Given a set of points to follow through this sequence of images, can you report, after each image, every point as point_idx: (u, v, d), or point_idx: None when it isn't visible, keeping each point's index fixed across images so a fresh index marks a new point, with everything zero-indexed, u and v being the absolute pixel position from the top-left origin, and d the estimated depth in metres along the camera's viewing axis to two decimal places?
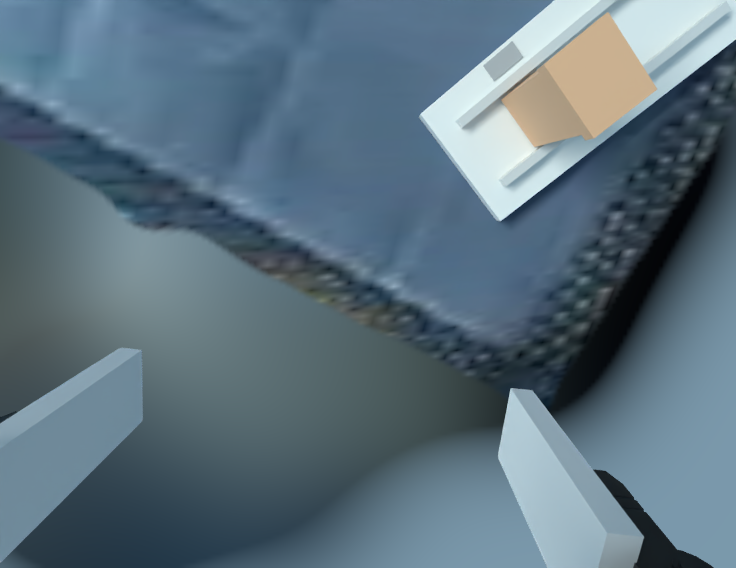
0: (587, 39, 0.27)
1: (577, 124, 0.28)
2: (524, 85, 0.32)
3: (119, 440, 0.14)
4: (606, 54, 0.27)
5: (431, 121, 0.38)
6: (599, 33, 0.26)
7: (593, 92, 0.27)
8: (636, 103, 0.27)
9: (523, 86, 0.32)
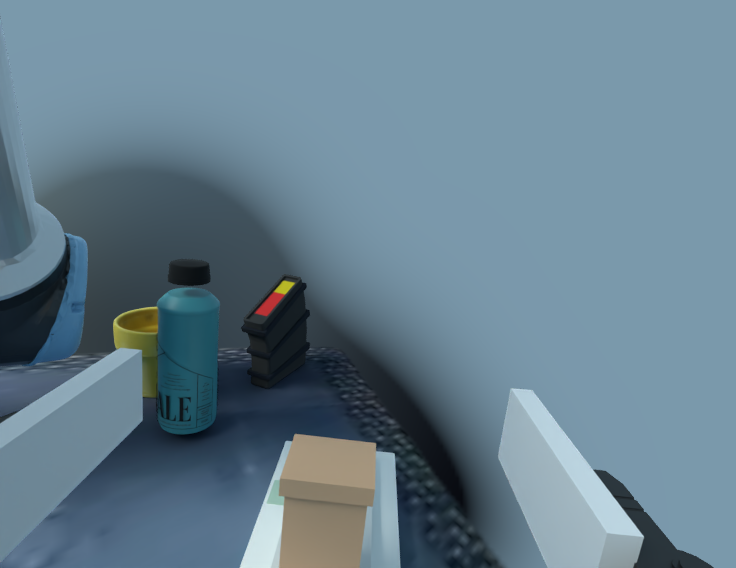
0: (297, 450, 0.28)
1: (352, 498, 0.26)
2: (282, 546, 0.27)
3: (119, 440, 0.14)
4: (320, 448, 0.29)
5: None
6: (302, 443, 0.29)
7: (337, 468, 0.27)
8: (374, 455, 0.29)
9: (282, 549, 0.27)
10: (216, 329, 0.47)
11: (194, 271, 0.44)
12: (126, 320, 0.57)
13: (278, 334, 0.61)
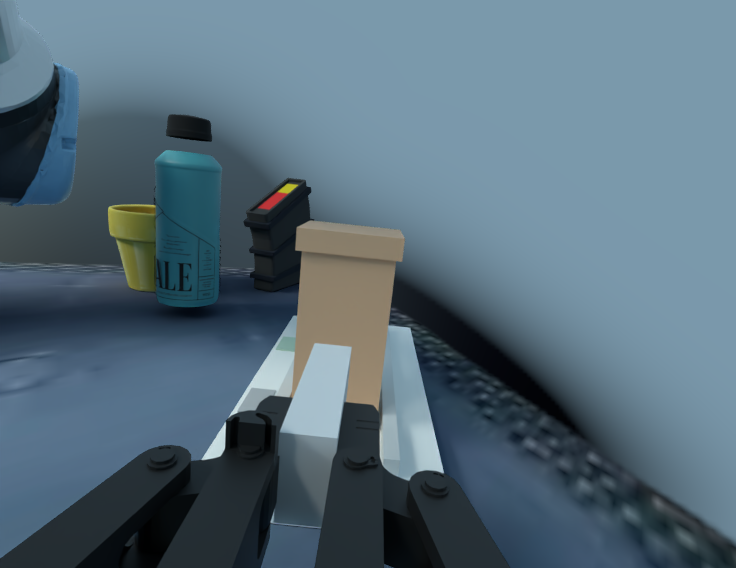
0: (314, 223, 0.25)
1: (378, 251, 0.23)
2: (298, 320, 0.24)
3: None
4: (339, 225, 0.26)
5: None
6: (318, 223, 0.26)
7: (360, 231, 0.24)
8: (399, 231, 0.26)
9: (298, 324, 0.24)
10: (218, 195, 0.44)
11: (195, 122, 0.41)
12: None
13: (282, 233, 0.58)
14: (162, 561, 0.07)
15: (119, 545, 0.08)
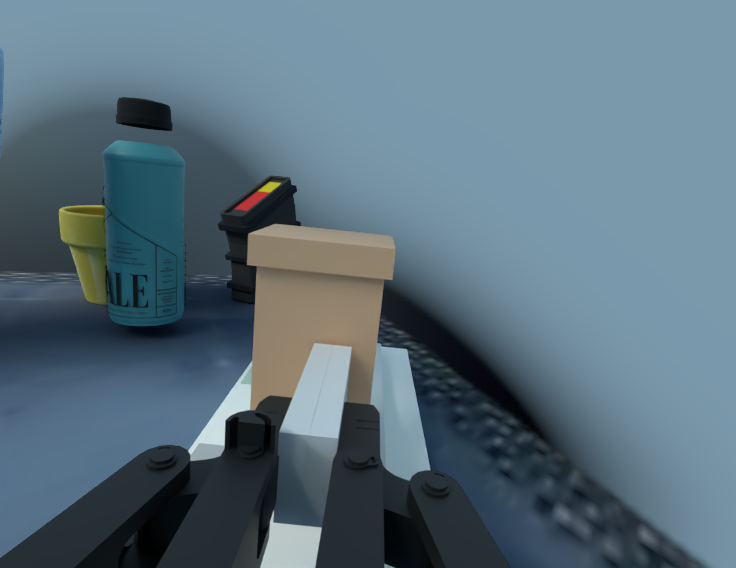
0: (278, 228, 0.19)
1: (360, 266, 0.17)
2: (255, 357, 0.18)
3: None
4: (311, 230, 0.20)
5: None
6: (285, 227, 0.20)
7: (337, 238, 0.18)
8: (390, 238, 0.20)
9: (255, 363, 0.18)
10: (181, 193, 0.37)
11: (149, 106, 0.34)
12: None
13: None
14: (161, 561, 0.07)
15: (118, 546, 0.08)
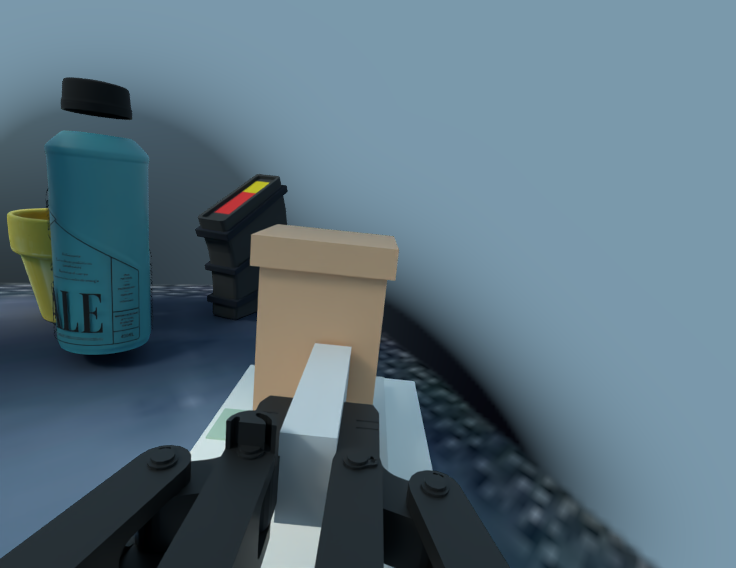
0: (280, 228, 0.19)
1: (363, 267, 0.17)
2: (257, 358, 0.18)
3: None
4: (314, 231, 0.20)
5: None
6: (287, 227, 0.20)
7: (340, 238, 0.18)
8: (392, 238, 0.20)
9: (257, 363, 0.18)
10: (143, 195, 0.31)
11: (100, 88, 0.28)
12: (33, 219, 0.41)
13: (248, 245, 0.45)
14: (162, 561, 0.07)
15: (119, 545, 0.08)
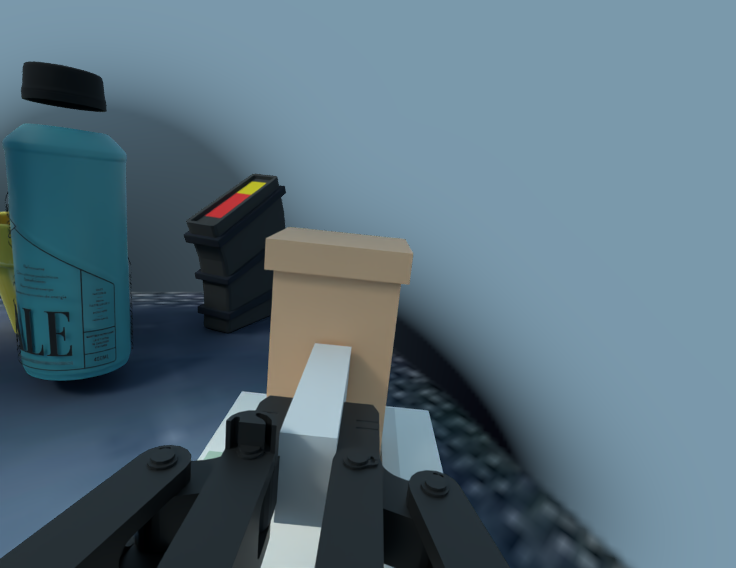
0: (293, 231, 0.19)
1: (377, 271, 0.17)
2: (271, 361, 0.18)
3: None
4: (326, 234, 0.20)
5: None
6: (299, 230, 0.20)
7: (353, 242, 0.18)
8: (404, 241, 0.20)
9: (271, 366, 0.18)
10: (119, 198, 0.27)
11: (66, 74, 0.24)
12: (4, 223, 0.37)
13: (242, 251, 0.41)
14: (162, 561, 0.07)
15: (119, 545, 0.08)
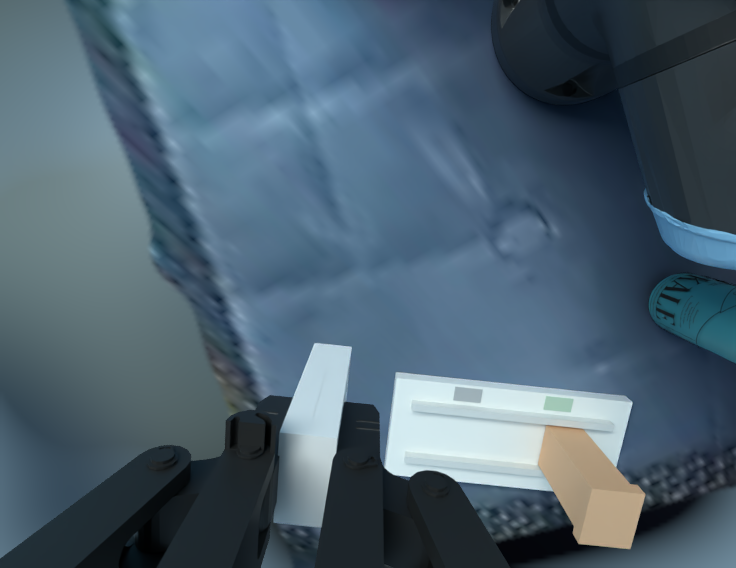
0: (623, 497, 0.38)
1: (577, 524, 0.39)
2: (569, 457, 0.42)
3: None
4: (624, 512, 0.38)
5: (398, 387, 0.48)
6: (631, 499, 0.38)
7: (601, 523, 0.38)
8: (614, 546, 0.39)
9: (568, 456, 0.43)
10: None
11: None
12: None
13: None
14: (162, 561, 0.07)
15: (119, 546, 0.08)
